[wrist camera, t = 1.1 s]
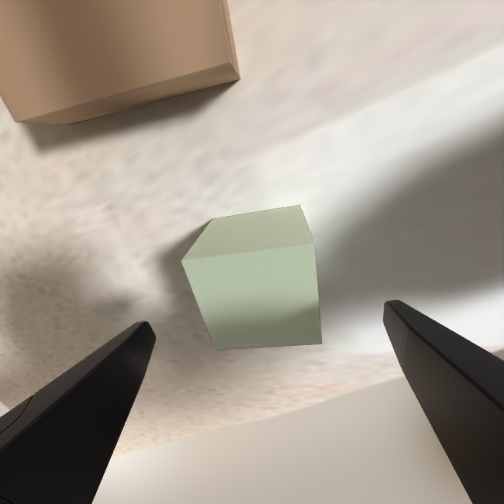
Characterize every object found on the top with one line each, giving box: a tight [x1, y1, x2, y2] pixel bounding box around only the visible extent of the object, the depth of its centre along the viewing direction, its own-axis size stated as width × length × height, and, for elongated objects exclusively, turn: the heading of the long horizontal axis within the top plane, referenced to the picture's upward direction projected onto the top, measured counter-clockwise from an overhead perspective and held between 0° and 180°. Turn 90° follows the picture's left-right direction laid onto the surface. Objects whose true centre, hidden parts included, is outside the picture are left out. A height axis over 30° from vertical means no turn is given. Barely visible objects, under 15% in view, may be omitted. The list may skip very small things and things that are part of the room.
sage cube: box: [181, 205, 322, 350], centre depth 11 cm, size 5×5×5 cm
